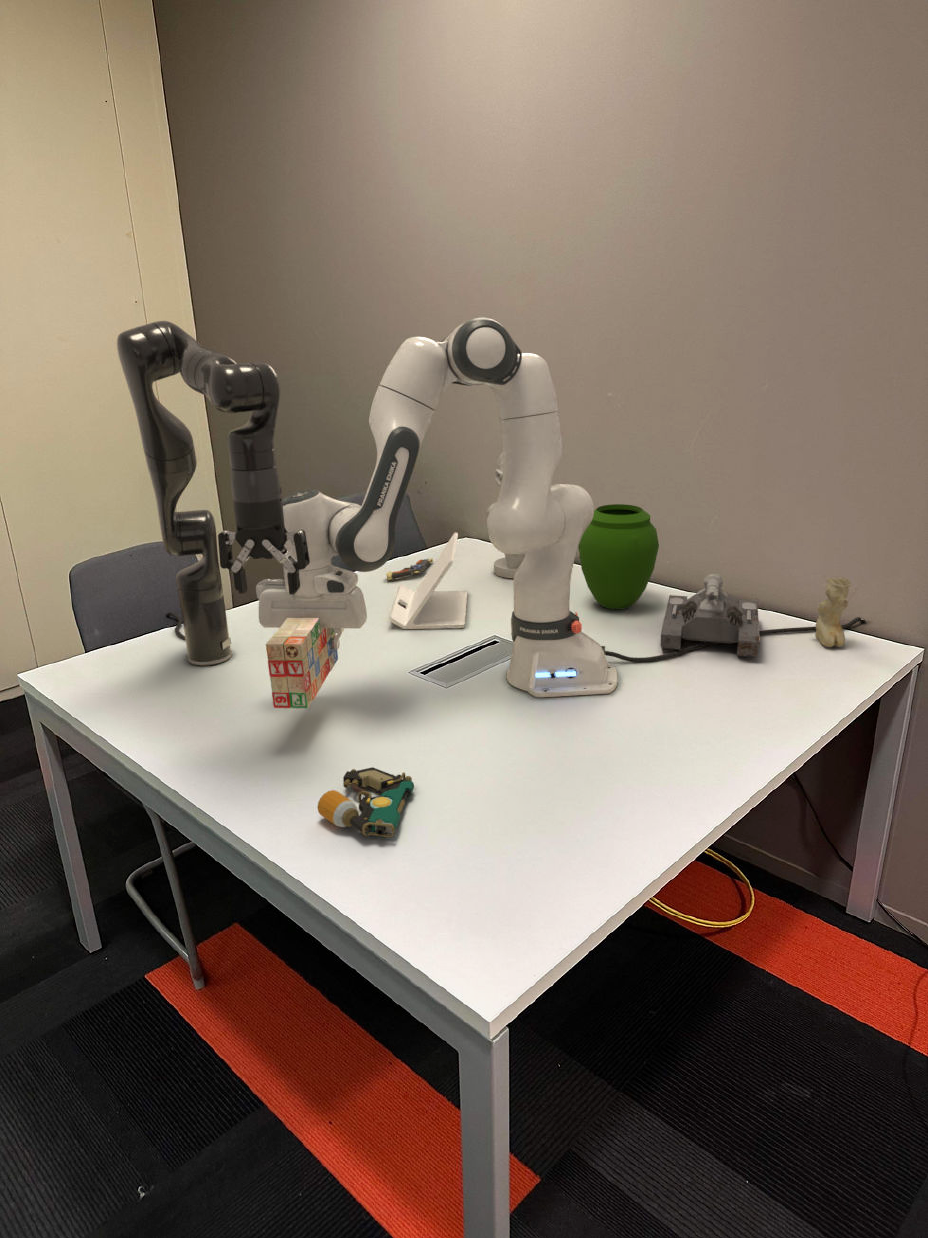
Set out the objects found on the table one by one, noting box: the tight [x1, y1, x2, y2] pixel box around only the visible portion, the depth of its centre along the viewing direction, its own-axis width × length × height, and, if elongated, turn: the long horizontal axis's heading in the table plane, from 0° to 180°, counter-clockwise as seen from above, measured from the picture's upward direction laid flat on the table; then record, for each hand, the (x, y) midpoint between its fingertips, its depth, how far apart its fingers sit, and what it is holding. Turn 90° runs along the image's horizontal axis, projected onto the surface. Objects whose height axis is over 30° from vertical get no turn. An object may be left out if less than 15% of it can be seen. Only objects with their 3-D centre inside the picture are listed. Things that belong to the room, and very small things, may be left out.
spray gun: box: [316, 766, 415, 838], centre depth 131 cm, size 4×17×15 cm
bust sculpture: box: [485, 452, 525, 579], centre depth 231 cm, size 16×24×35 cm
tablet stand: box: [388, 531, 468, 630], centre depth 211 cm, size 18×25×17 cm
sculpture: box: [814, 576, 852, 648], centre depth 185 cm, size 6×7×15 cm
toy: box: [660, 573, 761, 658], centre depth 190 cm, size 25×20×15 cm
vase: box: [578, 503, 660, 610], centre depth 210 cm, size 20×20×24 cm
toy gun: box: [385, 558, 434, 581], centre depth 244 cm, size 3×19×10 cm
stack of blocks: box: [265, 618, 339, 709], centre depth 156 cm, size 21×6×12 cm, turn 174°
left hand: (268, 592), depth 140 cm, fingers open, 8 cm apart
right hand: (316, 648), depth 163 cm, fingers closed on stack of blocks, 6 cm apart
